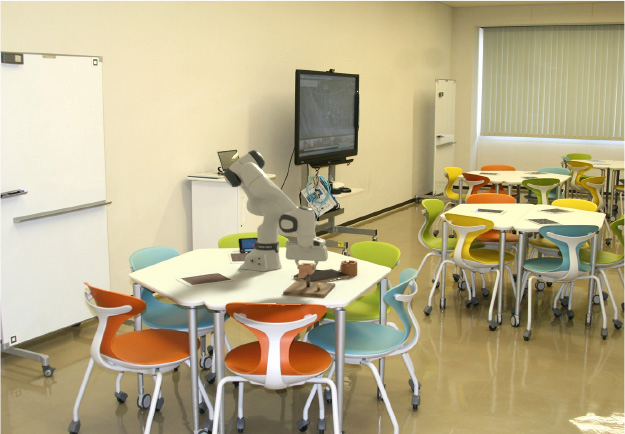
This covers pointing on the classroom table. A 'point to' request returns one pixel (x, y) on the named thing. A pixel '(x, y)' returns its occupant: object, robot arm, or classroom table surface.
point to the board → (309, 289)
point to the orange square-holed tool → (305, 269)
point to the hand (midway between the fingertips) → (306, 269)
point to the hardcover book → (323, 276)
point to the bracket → (349, 268)
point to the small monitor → (247, 244)
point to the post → (307, 280)
